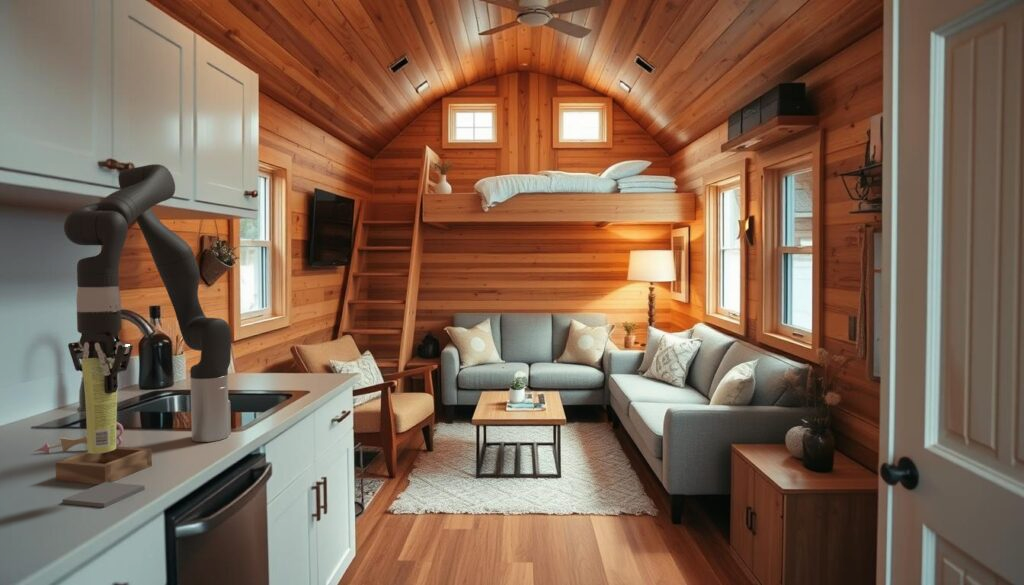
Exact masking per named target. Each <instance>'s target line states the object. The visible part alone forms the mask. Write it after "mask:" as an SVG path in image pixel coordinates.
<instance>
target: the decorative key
mask: <svg viewBox="0 0 1024 585" xmlns="http://www.w3.org/2000/svg"><path fill="white" fill-rule="evenodd" d="M116 428H118V429H119V431H120V432H119V434H118V435H116V440H117V441H118V443H116V447H121V445H122V444H123V438H122V435H123V433H124V427H123V425H122V424H121V423H120V422H118V421H116ZM59 439H60V443H58V444H54V445H50V444H49V442H47V443H45V444H44V445H43V446H41V447H40V448H38V449H35V450H34V452H43V453H47V454H50V453H51V449H56V448H60V447H62V452H63V453H65V452H67V451H68V450H69V449H70V448H73V447H74V446H76V445H80V444H85V445H86V444H87V435H85V436H84V437H80V438H68V437H64V436H63V437H60V438H59Z"/></svg>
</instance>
